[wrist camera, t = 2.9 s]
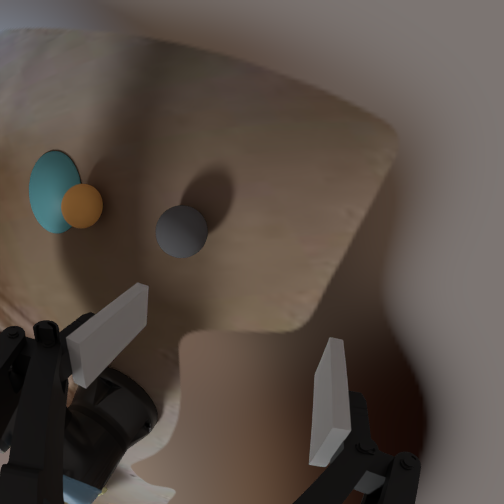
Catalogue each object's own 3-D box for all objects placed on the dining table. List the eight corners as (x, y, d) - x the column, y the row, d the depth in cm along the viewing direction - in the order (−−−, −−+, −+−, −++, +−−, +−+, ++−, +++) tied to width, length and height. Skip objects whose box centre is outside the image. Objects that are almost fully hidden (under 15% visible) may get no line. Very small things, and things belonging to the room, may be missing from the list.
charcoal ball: (223, 234, 34) (207, 247, 29) (186, 257, 36) (166, 274, 31) (196, 192, 34) (176, 198, 28) (160, 218, 35) (136, 228, 30)
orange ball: (118, 208, 36) (91, 216, 31) (93, 230, 38) (66, 241, 32) (97, 173, 35) (69, 177, 30) (74, 197, 37) (46, 204, 32)
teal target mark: (95, 202, 36) (94, 202, 36) (52, 247, 40) (51, 248, 40) (59, 133, 35) (58, 133, 34) (21, 185, 38) (20, 185, 38)
